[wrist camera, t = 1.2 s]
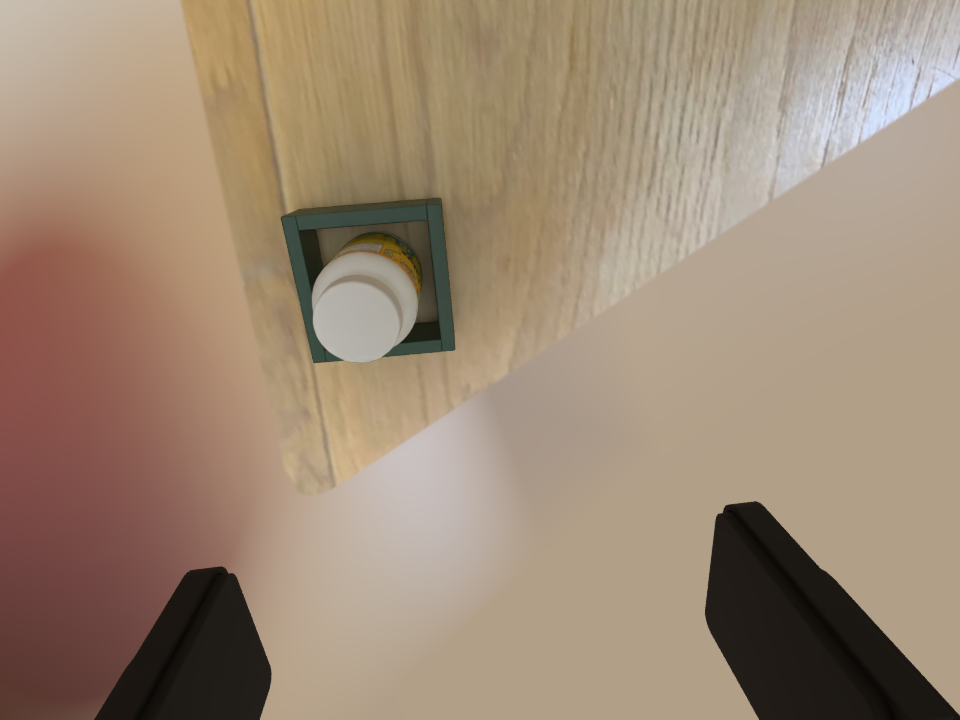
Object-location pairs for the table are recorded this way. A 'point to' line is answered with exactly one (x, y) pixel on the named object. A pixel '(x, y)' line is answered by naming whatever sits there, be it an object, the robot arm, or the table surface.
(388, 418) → the table surface
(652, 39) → the table surface
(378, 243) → the supplement bottle
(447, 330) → the open square frame
